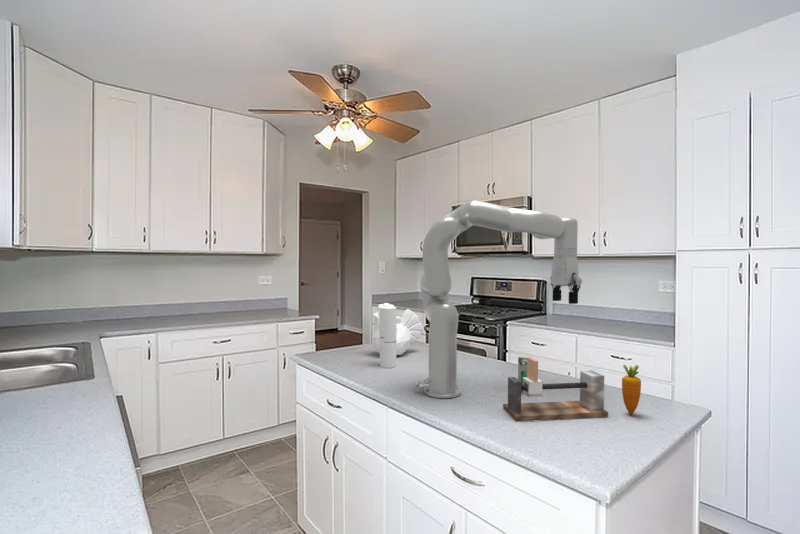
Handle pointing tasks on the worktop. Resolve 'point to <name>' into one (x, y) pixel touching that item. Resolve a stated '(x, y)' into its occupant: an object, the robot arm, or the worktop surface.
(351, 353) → the worktop surface
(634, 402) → the carrot
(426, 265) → the robot arm
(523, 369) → the food container
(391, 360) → the cylindrical container
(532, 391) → the sleeve
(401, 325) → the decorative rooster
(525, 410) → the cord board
